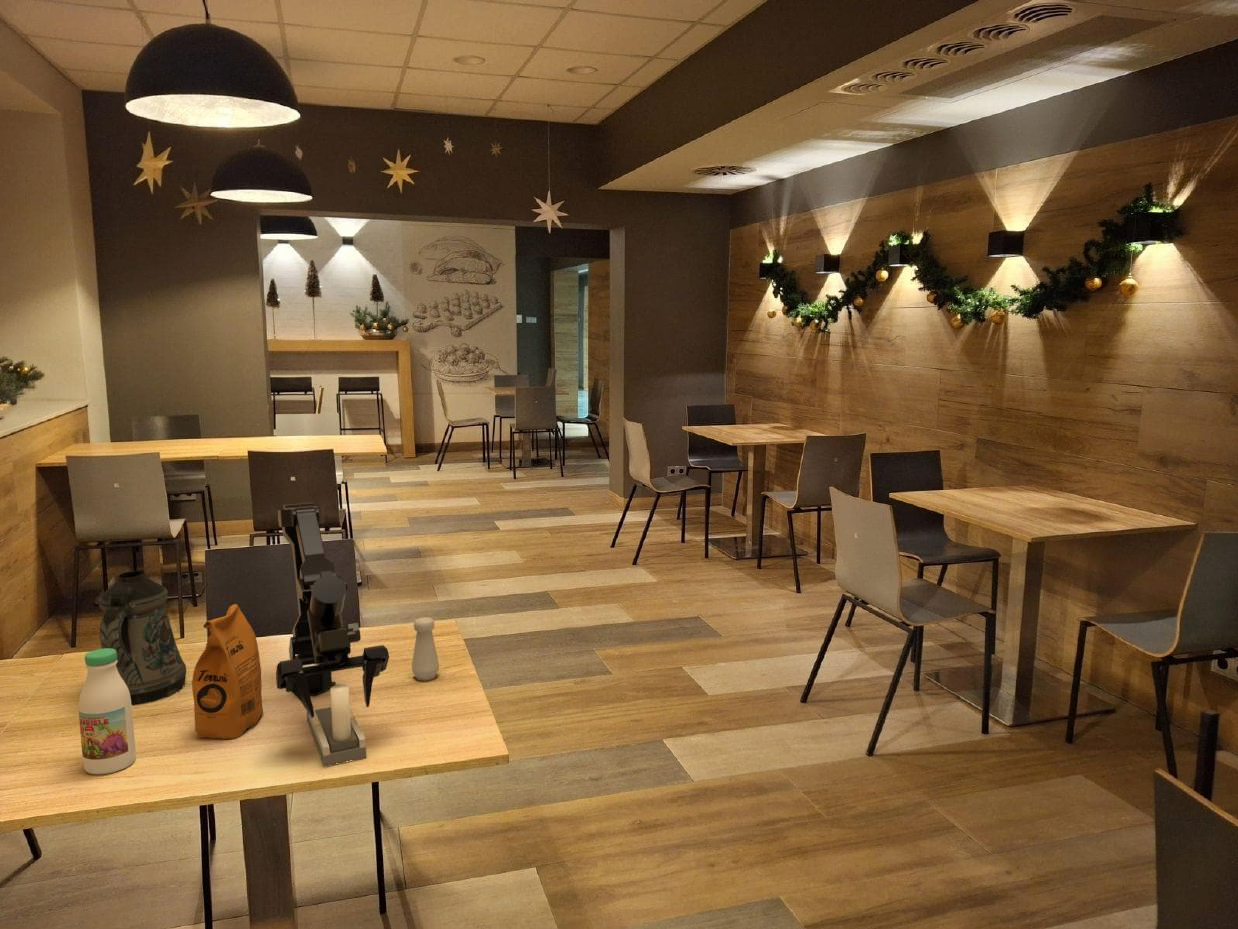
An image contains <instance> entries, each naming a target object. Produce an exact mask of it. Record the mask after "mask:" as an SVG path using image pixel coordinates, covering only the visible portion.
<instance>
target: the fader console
mask: <svg viewBox="0 0 1238 929" xmlns="http://www.w3.org/2000/svg"><path fill="white" fill-rule="evenodd" d="M313 710H314V717H313V718H311V716H310V715H309V713H308V712H307V711H306V722H307V724H308V727H309V730H310V733H311V735H312V738H313V741H314V744H315V746H316V749H317V752H318V754H319V757H320V756H321V757H320V760H321V763H322V762H323V763H322V766H323V767H324V768H326V767H325V766H327V767H330V766H329V765H332V766H335V765H334V764H336V763H341V764H344V763H343V762H345V763H347V762H346V761H350V760H355V761H358V759H359V760H363V758H364V759H367V743H366V737H365V735H364V733H363V731H362V729H361V727H360V725H359V723H358V721H357V719H356V716H354V713H353V711H352V709H351V708H350V724H351V730H353V731H354V734H355V736H356V738H357V745H358V747H355V748H350V749H345V750H341V751H336V752H331V751H330V749H329V744H328V742H327V735H331V734H333V731H332V711H331V706H329V707H323V708H319V709H315V707H314V706H313ZM350 762H351V761H350ZM336 765H337V764H336Z"/></svg>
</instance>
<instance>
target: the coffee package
mask: <svg viewBox="0 0 1238 929" xmlns="http://www.w3.org/2000/svg"><path fill="white" fill-rule="evenodd" d="M203 628H204V629H209V632H210V635H209V636H208V637H207V640H206V641H207V642H206V644H205V649H204V651H202V653H201V654H200V656H199V658H198V660H197V662H196V664H195V666H194V669H193V673H192V680H191V687H192V697H193V707H194V709H193V710H194V712H193V713H194V732H195V733H196V734H197V735H198V737H199V738H202V739H205V738H210V739H221V740H228V739H231V740H233V739H238V738H241V736H242V735H243V733H244V732H245V731H246V729H248V728H251V727H254V726H255V725H257V723H258V722H259V719H260V717H262V715H263V714H264V710H263V708H264V707H263V697H262V696H263V695H262V692H263V691H262V687H263V686H262V666H261V659H260V651H259V645H258V641H257V636H256V633H255V632H254V630H253V627H252V626H251V625H250V623H249V622H248V620H247V618H246V617H245V615H244V613H243V612H242V610H241V609H240V607H239V605H238V604H236V603H235V604H232V605H230V606H228V609H227V612H226V614H225V615H224V616H222V617H221V616H220V617H217V618H214V619H211V620H207V621H205V623H204V624H203Z"/></svg>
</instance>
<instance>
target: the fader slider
mask: <svg viewBox="0 0 1238 929" xmlns="http://www.w3.org/2000/svg"><path fill="white" fill-rule="evenodd" d="M329 689H330V705H331V706H330V707H331V711H332V731H333V734H331V735H327V742H328V744H329V749H330V751H331V752H336V751H341V750H345V749H350V748H355V747H358V745H357V738H356V736H355V734H354V731H353V730H351V724H350V709H351V707H350V687H349V684H336V685H334V686H333V687H331V688H329Z"/></svg>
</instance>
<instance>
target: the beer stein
mask: <svg viewBox="0 0 1238 929" xmlns="http://www.w3.org/2000/svg"><path fill="white" fill-rule="evenodd" d="M168 594H169V592H168V589H167V588H166V587H165V586H164V585H162V584H160V583H158V582H157V581H154V580H153V579H151V578H149V577H148V576H146V574H145V573H144V572H143V571H140V570H139V571H137V570H135V571H127V572H122V573H120V574H119V575H118V578H117V580H116V581H115V582H114V583H113V584H112V585H110V587H109V588H107V589H106V590H105V591H104V592H103V593H102V594H101V596H100V597H99V599H98V601H97V602H98V605H99V607H100V610H101V611H102V612H103V616H102V618H101V620H100V623H99V640H100V644H101V647H100V649H105V648H111V649H115V650H116V652H117V661H118V662H117V663H116V667H117V670H118V672H119V674H120V676H121V678H122V679H123V681H124V682H125V684H126V685H127V687H128V690H129V692H130V697H131V704H132V706H136V705H142V704H147V703H153V702H156V701H159V700H160V701H161V700H163V699H165V698H168V697H171V696H173V695H175V694H177V693H178V692H180V691H181V690H182V689H183V688H184V686H185V684H186V676H187V665H186V663H185V661H184V660H183V658H182V656H181V654H180V651H179V649H178V645H177V643H176V639H175V635H174V632H173V629H172V626H171V621H170V618H169V614H168V611H167V607H166V603H167V600H168Z"/></svg>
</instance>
